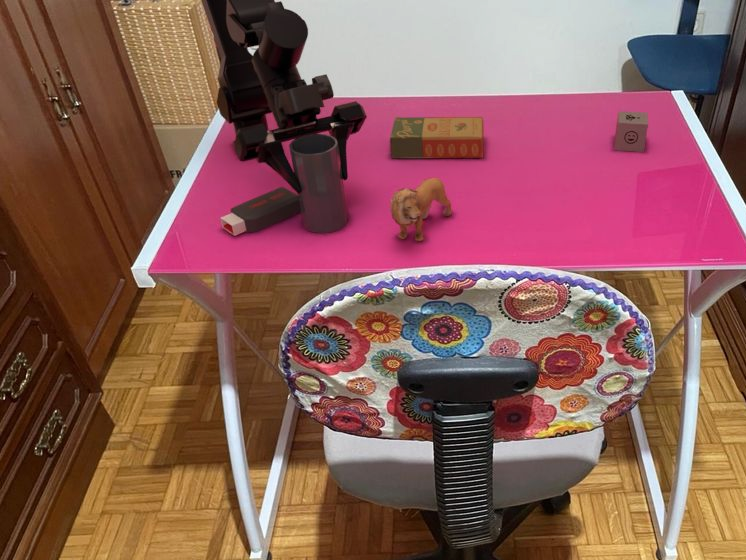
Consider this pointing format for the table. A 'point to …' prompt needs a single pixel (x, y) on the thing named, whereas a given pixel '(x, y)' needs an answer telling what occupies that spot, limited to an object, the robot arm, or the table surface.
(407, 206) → the lion figurine
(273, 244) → the table surface
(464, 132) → the carton
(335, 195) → the pen pot
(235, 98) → the robot arm
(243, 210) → the usb drive
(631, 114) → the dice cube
